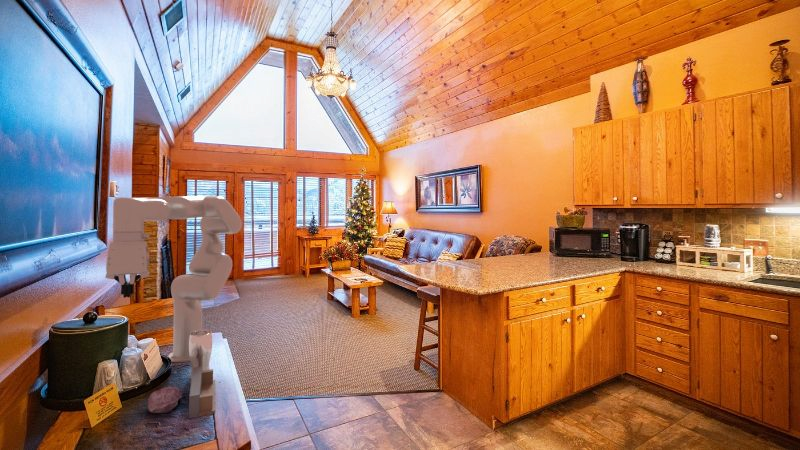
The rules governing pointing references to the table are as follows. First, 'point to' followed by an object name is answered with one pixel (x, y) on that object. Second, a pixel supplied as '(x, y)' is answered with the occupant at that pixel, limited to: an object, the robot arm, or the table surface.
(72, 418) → the table surface
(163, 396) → the pink rounded lump
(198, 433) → the table surface
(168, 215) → the robot arm
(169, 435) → the table surface
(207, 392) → the beige stepped bar
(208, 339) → the beer glass
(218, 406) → the table surface
